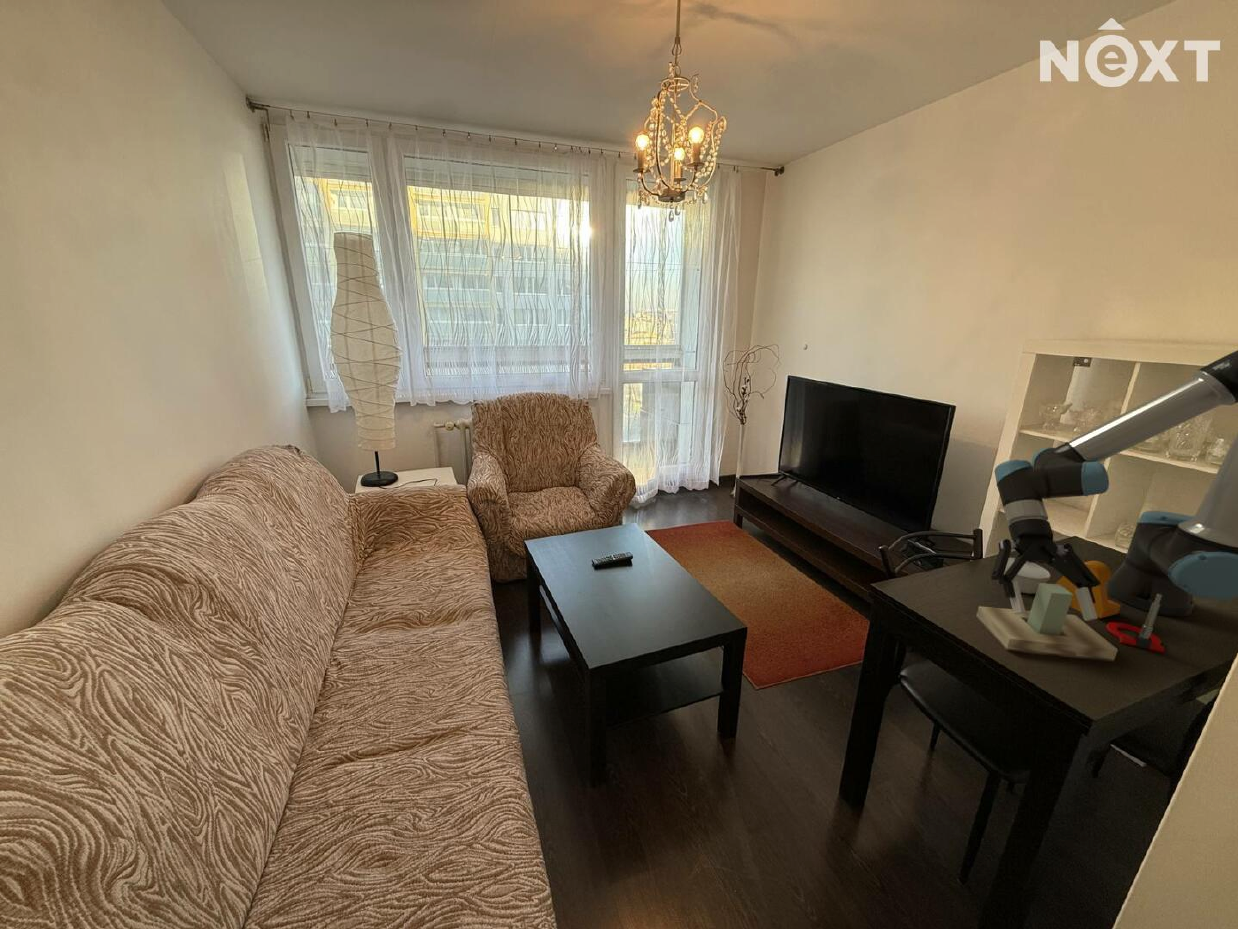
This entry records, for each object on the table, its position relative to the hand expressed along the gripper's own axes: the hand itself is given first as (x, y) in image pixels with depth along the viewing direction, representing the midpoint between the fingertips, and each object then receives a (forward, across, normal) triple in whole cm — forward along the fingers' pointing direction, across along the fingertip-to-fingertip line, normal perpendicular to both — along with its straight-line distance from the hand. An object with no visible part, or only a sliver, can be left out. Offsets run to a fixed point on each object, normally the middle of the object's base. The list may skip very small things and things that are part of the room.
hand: (1054, 616), depth 102 cm
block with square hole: (+4, 0, -6) cm, 7 cm away
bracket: (-8, -19, -18) cm, 27 cm away
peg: (+3, 0, -6) cm, 7 cm away
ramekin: (-13, -9, -24) cm, 28 cm away
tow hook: (+1, -21, -9) cm, 23 cm away
